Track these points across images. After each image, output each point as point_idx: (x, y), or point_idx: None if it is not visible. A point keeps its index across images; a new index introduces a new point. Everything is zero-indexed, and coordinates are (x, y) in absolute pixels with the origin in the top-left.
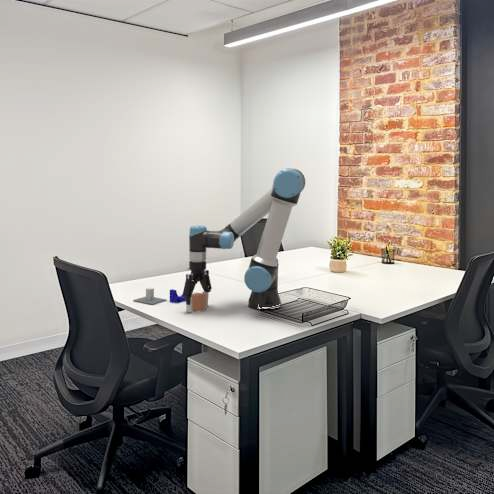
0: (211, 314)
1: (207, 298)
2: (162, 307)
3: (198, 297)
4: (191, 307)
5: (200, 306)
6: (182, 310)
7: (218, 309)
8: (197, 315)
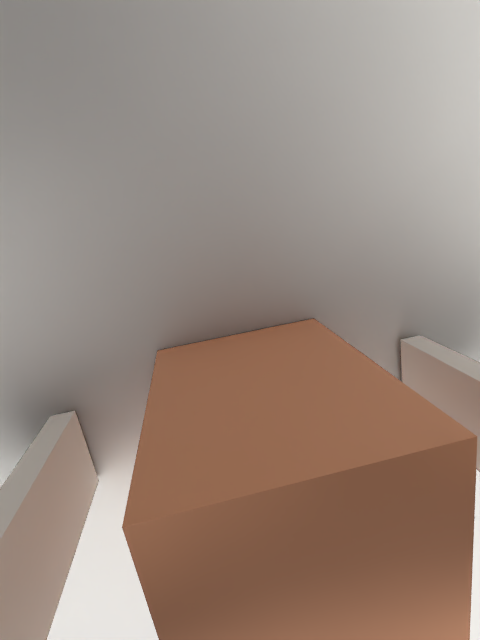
0: (312, 55)
1: (9, 503)
2: None
3: (450, 425)
4: (461, 357)
5: (295, 344)
6: None
7: (18, 188)
8: (465, 181)
